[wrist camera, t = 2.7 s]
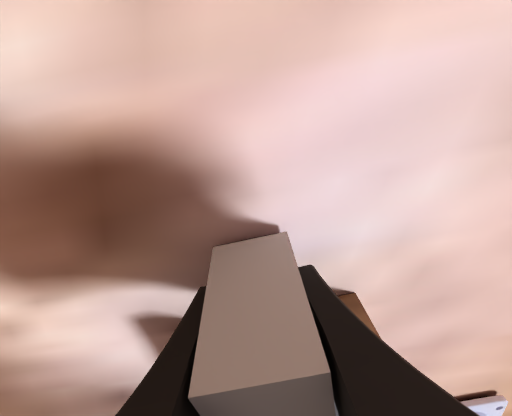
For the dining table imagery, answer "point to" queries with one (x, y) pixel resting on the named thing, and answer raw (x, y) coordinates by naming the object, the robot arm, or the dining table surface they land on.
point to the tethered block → (259, 337)
